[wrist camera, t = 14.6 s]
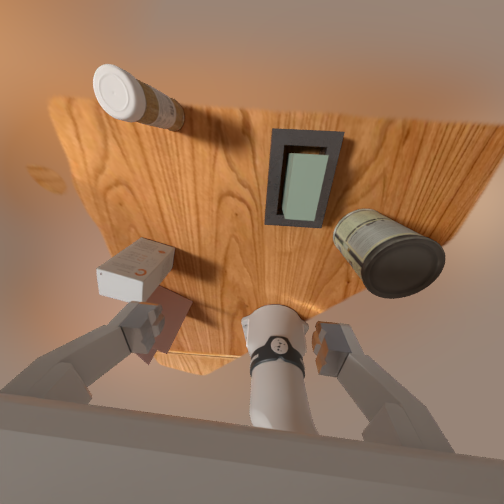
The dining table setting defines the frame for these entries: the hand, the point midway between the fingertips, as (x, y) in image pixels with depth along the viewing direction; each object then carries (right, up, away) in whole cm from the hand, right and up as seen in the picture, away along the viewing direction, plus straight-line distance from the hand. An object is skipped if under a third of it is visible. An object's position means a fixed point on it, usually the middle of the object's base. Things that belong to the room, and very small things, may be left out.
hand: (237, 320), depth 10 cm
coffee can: (+23, +8, +29) cm, 37 cm away
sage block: (+9, +17, +25) cm, 31 cm away
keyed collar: (+9, +17, +24) cm, 31 cm away
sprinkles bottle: (-13, +26, +21) cm, 36 cm away
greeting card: (-20, -8, +41) cm, 46 cm away
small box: (-22, +3, +34) cm, 41 cm away
